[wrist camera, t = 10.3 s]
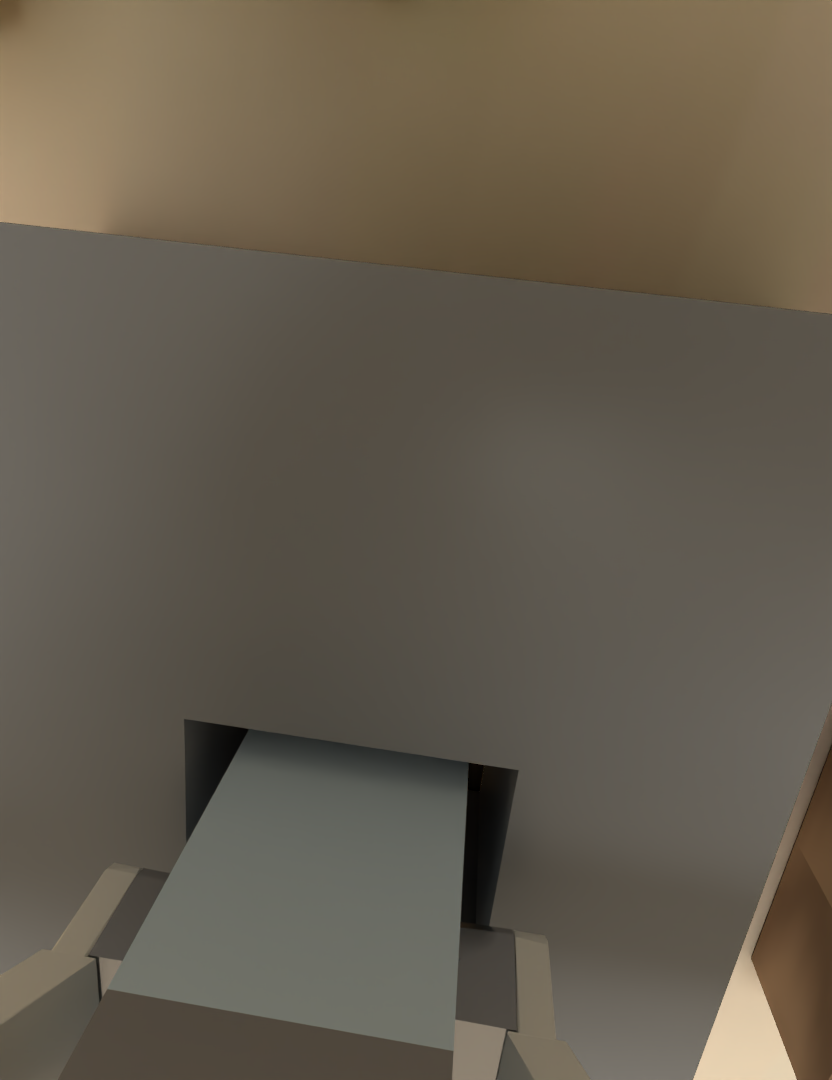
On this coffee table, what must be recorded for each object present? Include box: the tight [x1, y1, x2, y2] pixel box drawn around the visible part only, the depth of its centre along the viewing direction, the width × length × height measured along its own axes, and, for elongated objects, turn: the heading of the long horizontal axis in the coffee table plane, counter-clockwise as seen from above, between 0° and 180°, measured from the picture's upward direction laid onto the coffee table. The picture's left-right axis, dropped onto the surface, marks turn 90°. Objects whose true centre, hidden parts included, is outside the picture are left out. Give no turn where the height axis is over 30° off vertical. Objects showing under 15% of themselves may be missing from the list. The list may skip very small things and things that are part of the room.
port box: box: [0, 222, 832, 1080], centre depth 15 cm, size 20×14×6 cm
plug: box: [58, 729, 469, 1080], centre depth 12 cm, size 4×4×10 cm
